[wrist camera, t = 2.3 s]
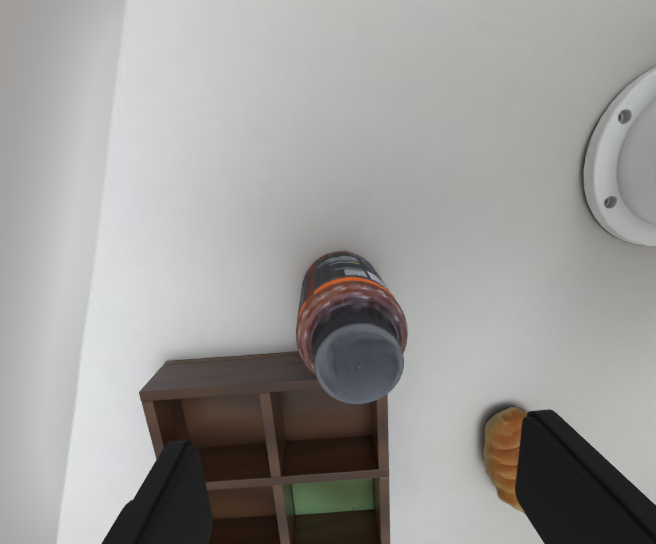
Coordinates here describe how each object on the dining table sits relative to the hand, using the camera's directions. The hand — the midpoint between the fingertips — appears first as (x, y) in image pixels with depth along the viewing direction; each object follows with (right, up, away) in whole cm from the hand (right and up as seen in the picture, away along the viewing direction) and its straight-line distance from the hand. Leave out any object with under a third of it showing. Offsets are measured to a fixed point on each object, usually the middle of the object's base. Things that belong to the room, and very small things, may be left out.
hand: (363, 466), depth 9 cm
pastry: (+16, -11, +20) cm, 28 cm away
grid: (-5, -10, +19) cm, 22 cm away
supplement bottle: (0, +4, +16) cm, 16 cm away
